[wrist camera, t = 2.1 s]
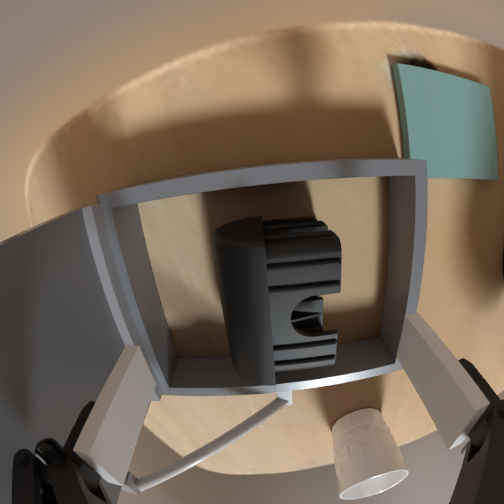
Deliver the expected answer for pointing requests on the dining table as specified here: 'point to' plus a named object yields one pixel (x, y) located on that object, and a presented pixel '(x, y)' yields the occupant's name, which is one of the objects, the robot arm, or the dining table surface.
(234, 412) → the dining table surface
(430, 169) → the rubber pad
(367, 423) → the white cup
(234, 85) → the dining table surface
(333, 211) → the dining table surface
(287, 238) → the end cap
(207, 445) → the case
